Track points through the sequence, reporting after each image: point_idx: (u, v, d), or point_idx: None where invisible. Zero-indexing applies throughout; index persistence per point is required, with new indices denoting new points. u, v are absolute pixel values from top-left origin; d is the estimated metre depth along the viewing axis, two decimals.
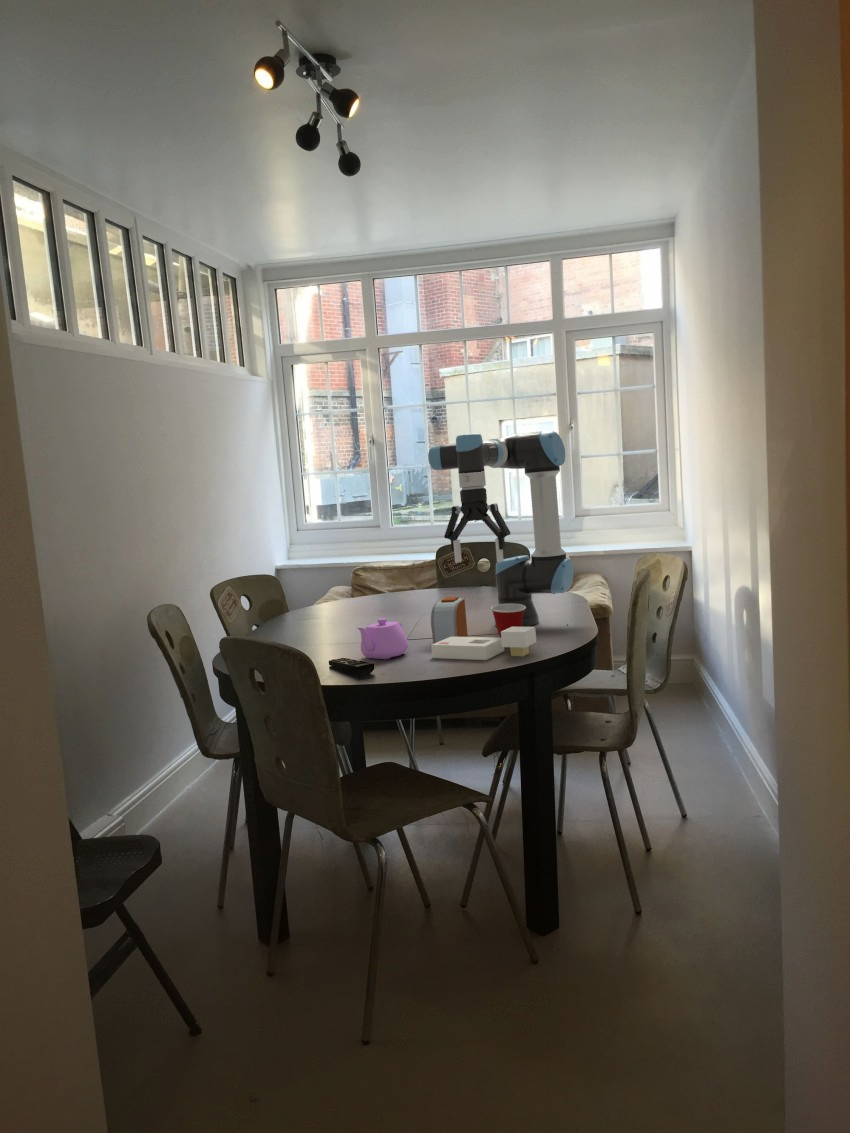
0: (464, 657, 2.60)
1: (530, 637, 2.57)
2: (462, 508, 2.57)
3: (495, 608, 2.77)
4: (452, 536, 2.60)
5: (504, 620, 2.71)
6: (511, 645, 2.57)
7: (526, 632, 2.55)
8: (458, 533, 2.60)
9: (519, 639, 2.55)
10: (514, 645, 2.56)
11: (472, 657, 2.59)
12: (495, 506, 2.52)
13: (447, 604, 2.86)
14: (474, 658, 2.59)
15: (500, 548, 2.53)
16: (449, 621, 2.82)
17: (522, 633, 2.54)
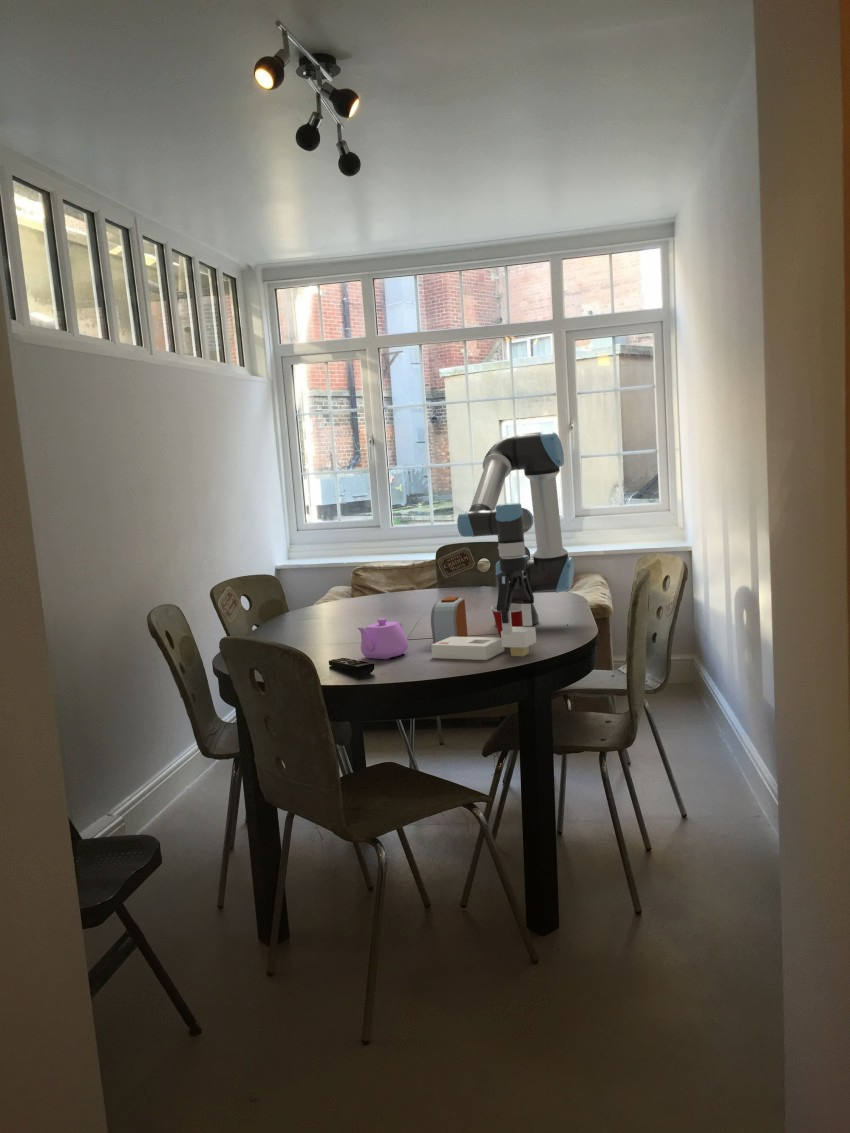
0: (464, 657, 2.60)
1: (530, 637, 2.57)
2: None
3: (495, 608, 2.77)
4: None
5: None
6: (511, 645, 2.57)
7: (526, 632, 2.55)
8: (523, 597, 2.63)
9: (519, 639, 2.55)
10: (514, 645, 2.56)
11: (472, 657, 2.59)
12: (502, 579, 2.52)
13: (447, 604, 2.86)
14: (474, 658, 2.59)
15: None
16: (449, 621, 2.82)
17: (522, 633, 2.54)
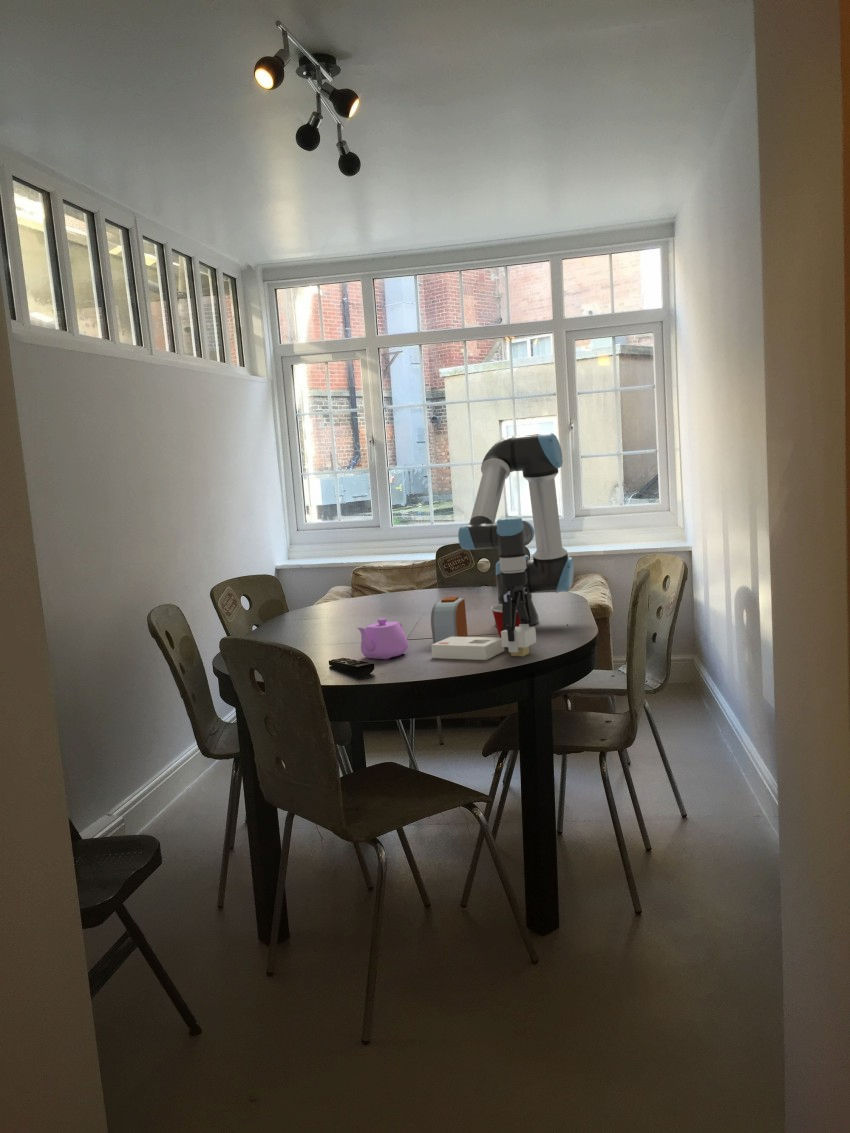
0: (464, 657, 2.60)
1: (530, 637, 2.57)
2: None
3: (495, 608, 2.77)
4: None
5: None
6: None
7: (526, 632, 2.55)
8: (522, 616, 2.62)
9: (519, 639, 2.55)
10: None
11: (472, 657, 2.59)
12: (504, 598, 2.52)
13: (447, 604, 2.86)
14: (474, 658, 2.59)
15: None
16: (449, 621, 2.82)
17: (522, 633, 2.54)
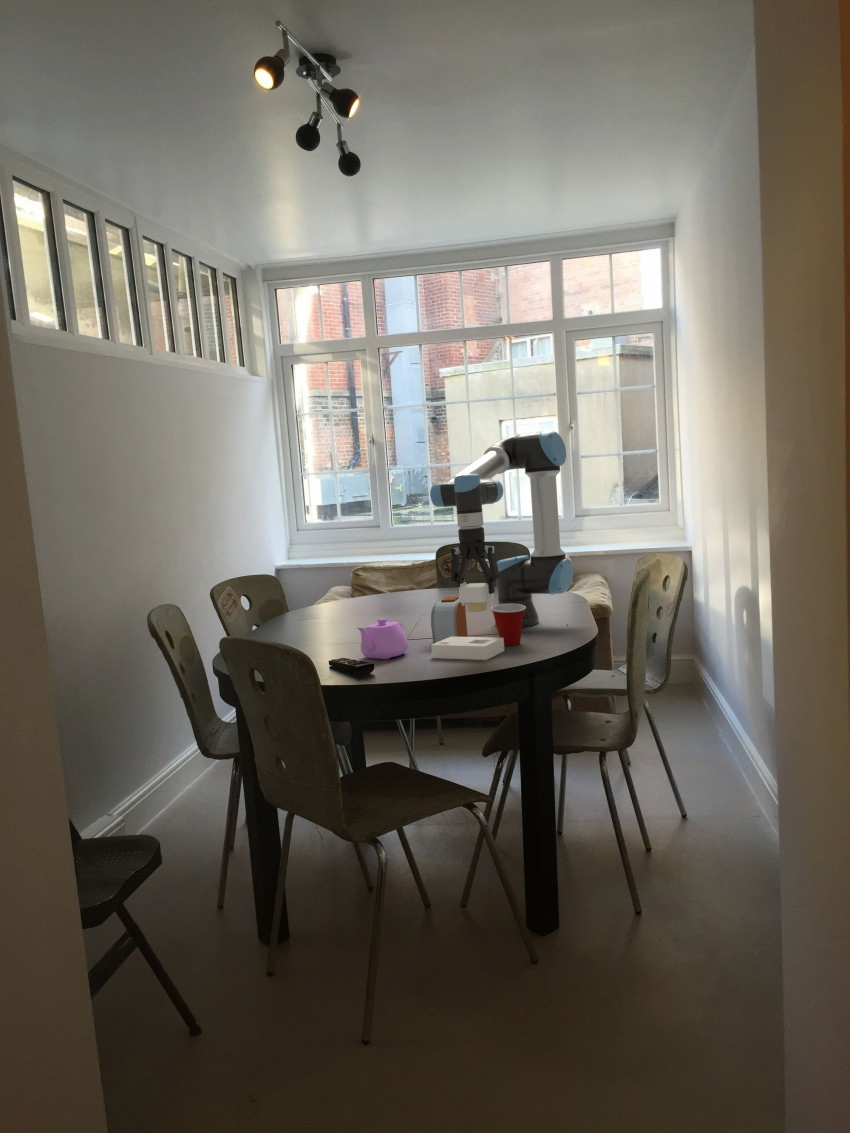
0: (464, 657, 2.60)
1: None
2: (460, 547, 2.62)
3: (495, 608, 2.77)
4: (458, 579, 2.63)
5: (504, 620, 2.71)
6: None
7: None
8: (463, 574, 2.63)
9: None
10: None
11: (472, 657, 2.59)
12: (493, 549, 2.57)
13: (447, 604, 2.86)
14: (474, 658, 2.59)
15: (490, 592, 2.59)
16: (449, 621, 2.82)
17: None
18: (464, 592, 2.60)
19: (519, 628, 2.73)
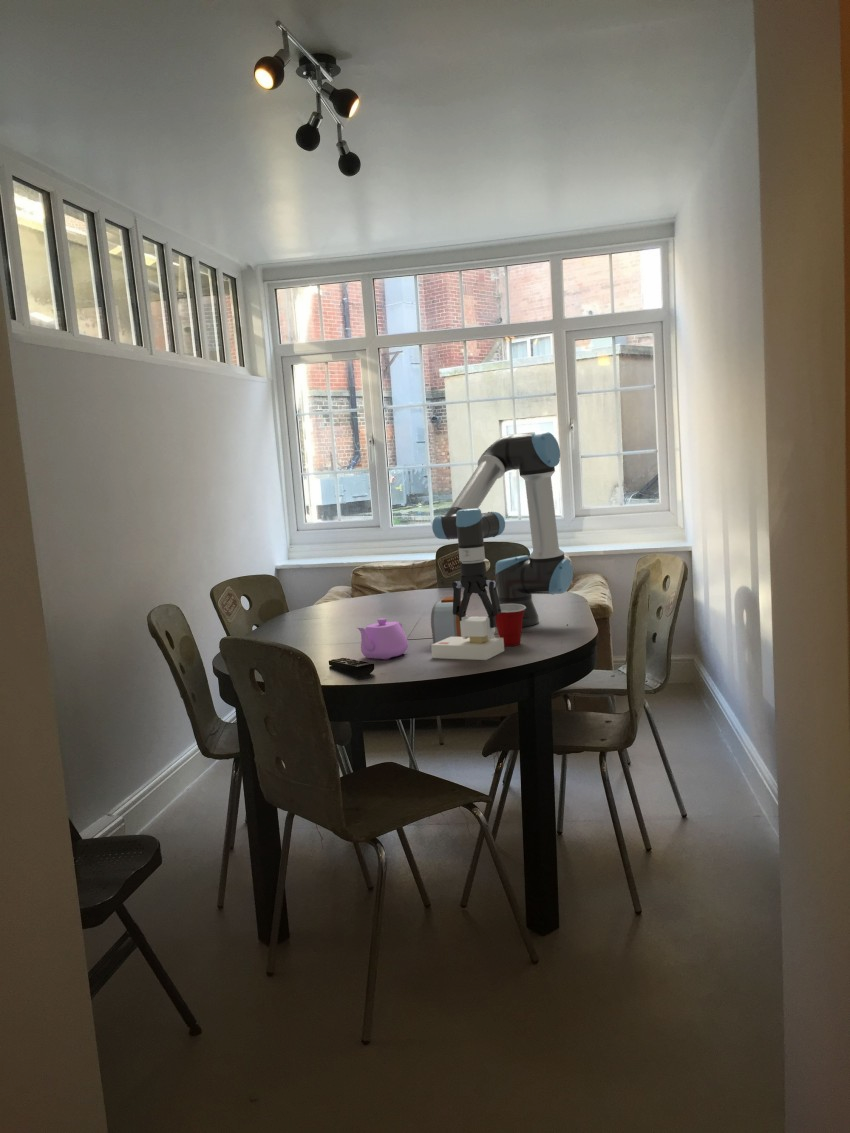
0: (464, 657, 2.60)
1: None
2: (462, 581, 2.63)
3: None
4: (460, 612, 2.64)
5: (504, 620, 2.71)
6: None
7: None
8: (465, 608, 2.65)
9: None
10: None
11: (472, 657, 2.59)
12: (494, 584, 2.59)
13: (447, 604, 2.86)
14: (474, 658, 2.59)
15: (491, 626, 2.60)
16: (449, 621, 2.82)
17: None
18: (466, 625, 2.61)
19: (519, 628, 2.73)
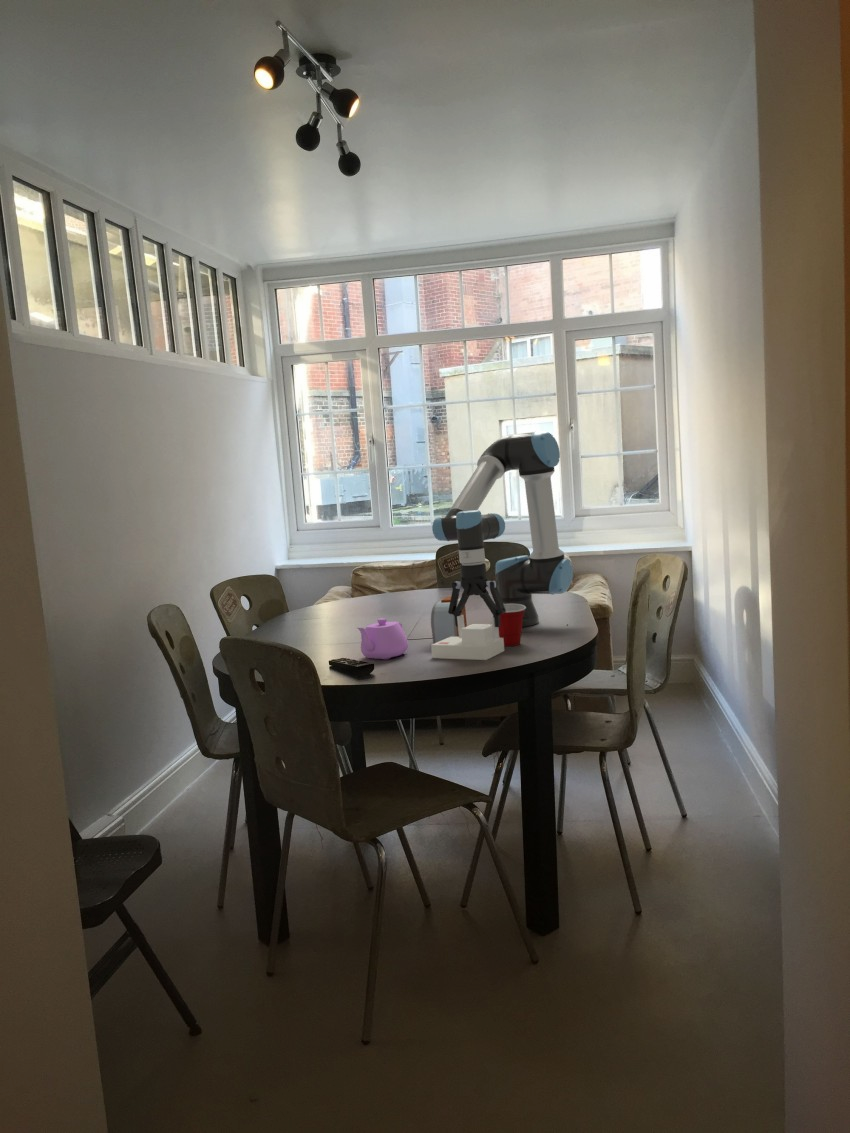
0: (464, 657, 2.60)
1: None
2: (462, 583, 2.63)
3: None
4: (456, 612, 2.65)
5: (504, 620, 2.71)
6: (489, 640, 2.61)
7: None
8: (461, 608, 2.65)
9: None
10: (490, 639, 2.62)
11: (472, 657, 2.59)
12: (494, 584, 2.58)
13: (447, 604, 2.86)
14: (474, 658, 2.59)
15: (496, 626, 2.60)
16: (449, 621, 2.82)
17: None
18: (467, 633, 2.61)
19: (519, 628, 2.73)
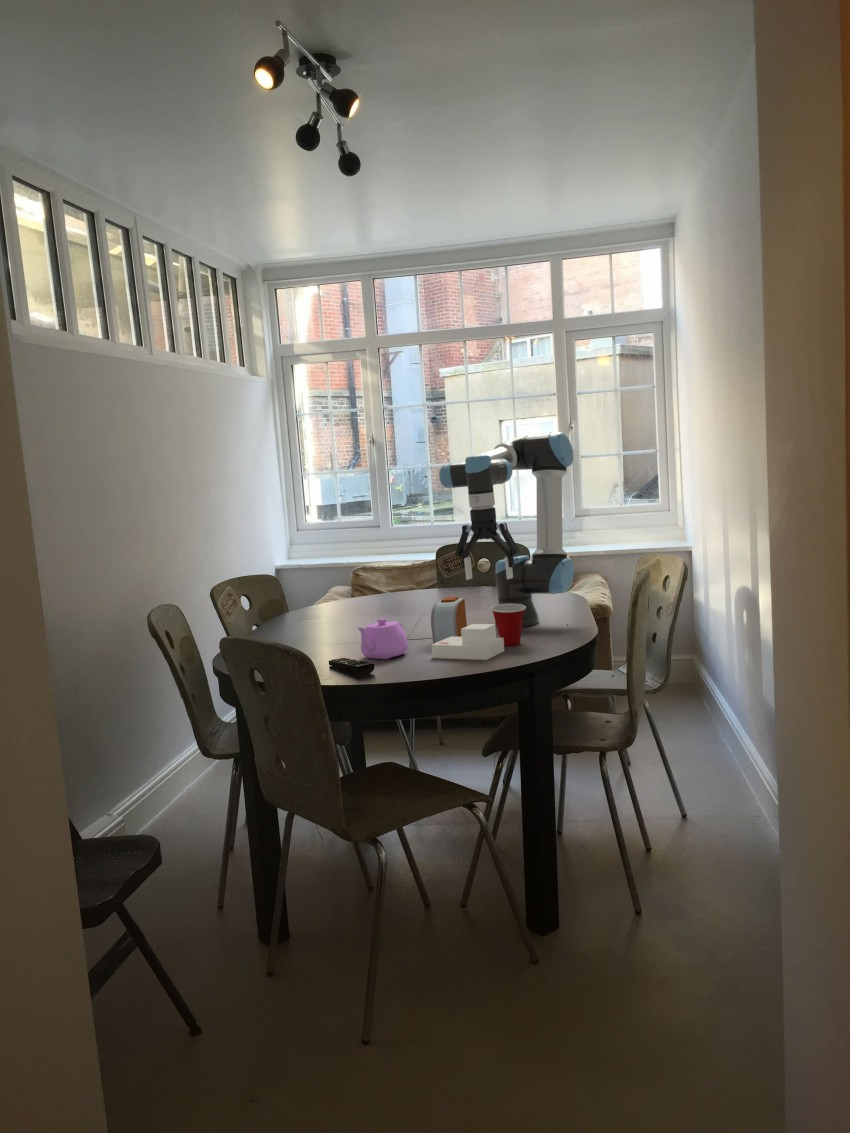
0: (464, 657, 2.60)
1: None
2: (472, 527, 2.65)
3: (495, 608, 2.77)
4: (463, 554, 2.68)
5: (504, 620, 2.71)
6: (489, 640, 2.61)
7: None
8: (469, 551, 2.68)
9: (493, 632, 2.63)
10: (490, 639, 2.62)
11: (472, 657, 2.59)
12: (504, 525, 2.60)
13: (447, 604, 2.86)
14: (474, 658, 2.59)
15: (510, 566, 2.61)
16: (449, 621, 2.82)
17: (494, 626, 2.64)
18: (467, 633, 2.61)
19: (519, 628, 2.73)
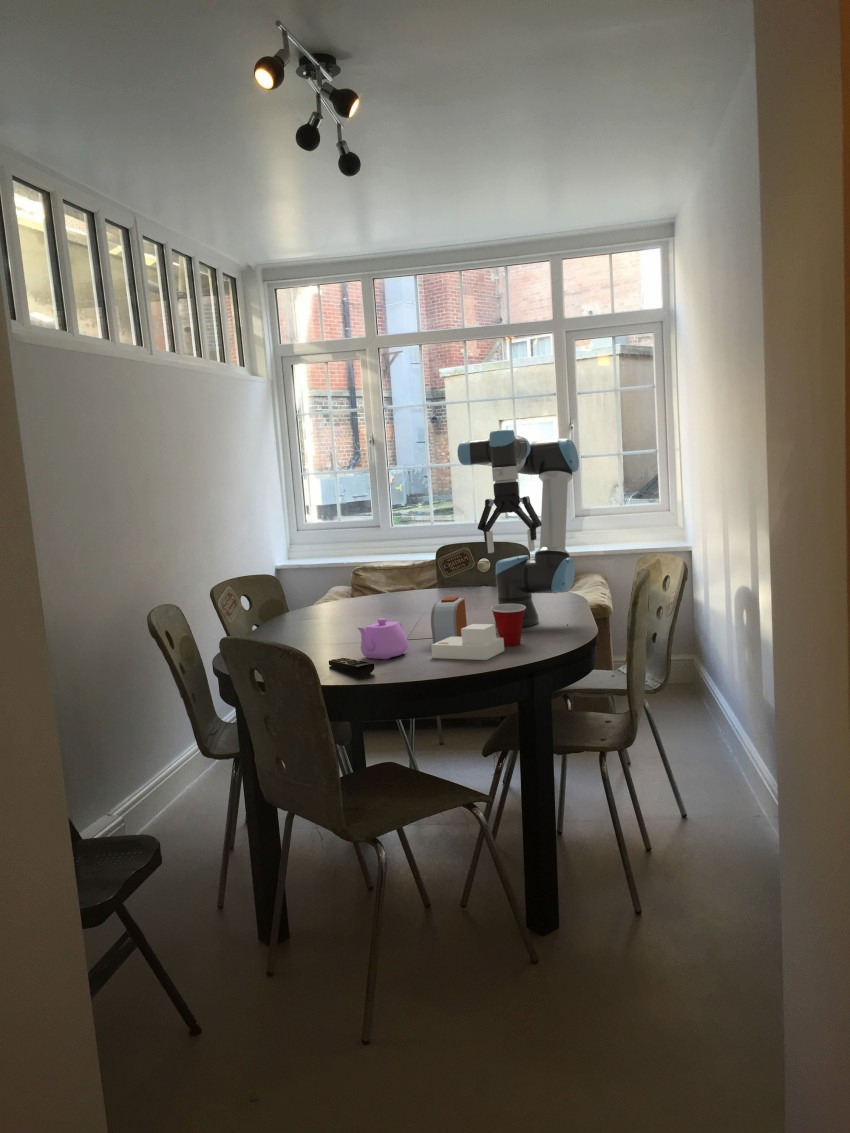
0: (464, 657, 2.60)
1: None
2: (495, 501, 2.69)
3: (495, 608, 2.77)
4: (485, 527, 2.72)
5: (504, 620, 2.71)
6: (489, 640, 2.61)
7: None
8: (491, 525, 2.72)
9: (493, 632, 2.63)
10: (490, 639, 2.62)
11: (472, 657, 2.59)
12: (527, 499, 2.65)
13: (447, 604, 2.86)
14: (474, 658, 2.59)
15: (532, 539, 2.65)
16: (449, 621, 2.82)
17: (494, 626, 2.64)
18: (467, 633, 2.61)
19: (519, 628, 2.73)
